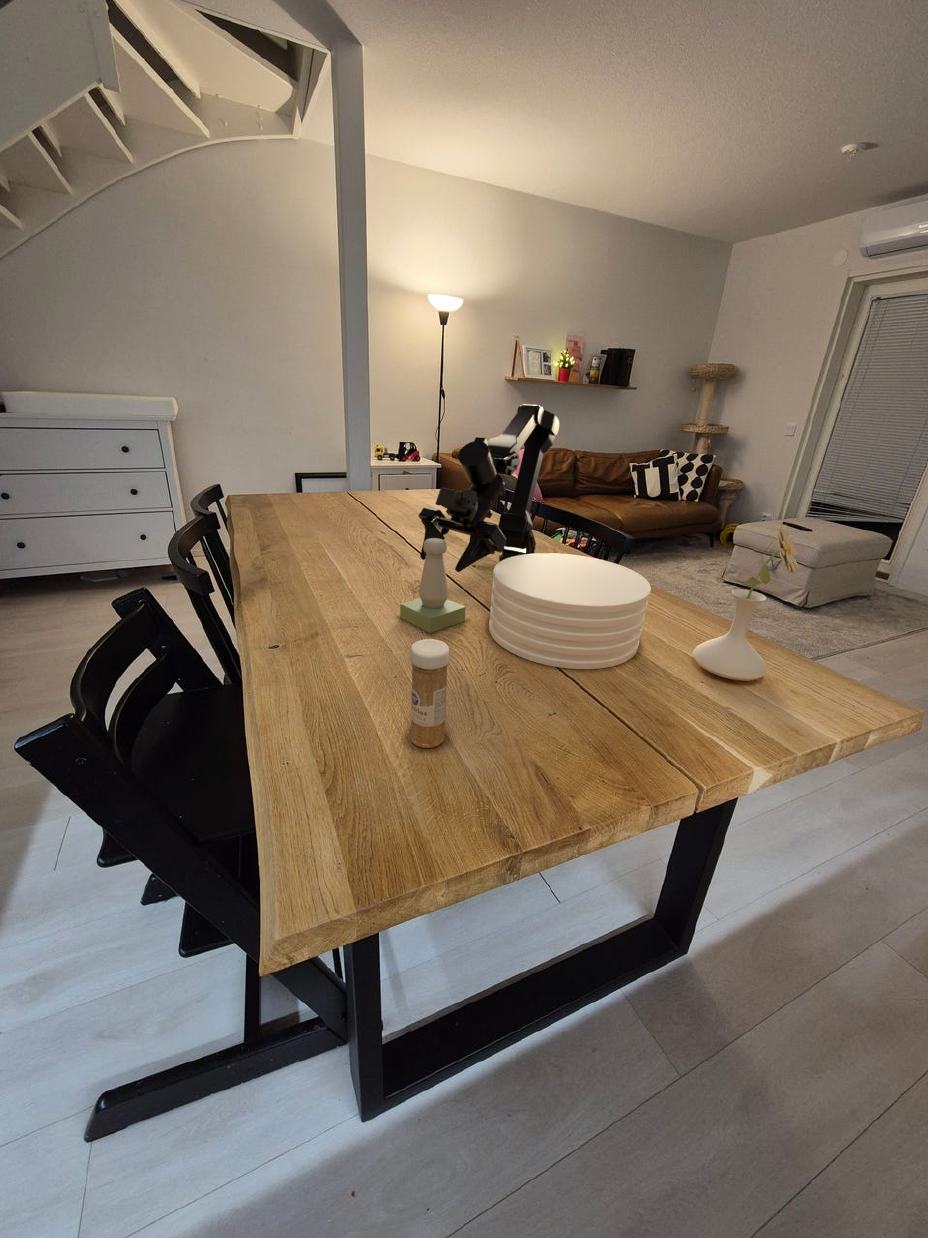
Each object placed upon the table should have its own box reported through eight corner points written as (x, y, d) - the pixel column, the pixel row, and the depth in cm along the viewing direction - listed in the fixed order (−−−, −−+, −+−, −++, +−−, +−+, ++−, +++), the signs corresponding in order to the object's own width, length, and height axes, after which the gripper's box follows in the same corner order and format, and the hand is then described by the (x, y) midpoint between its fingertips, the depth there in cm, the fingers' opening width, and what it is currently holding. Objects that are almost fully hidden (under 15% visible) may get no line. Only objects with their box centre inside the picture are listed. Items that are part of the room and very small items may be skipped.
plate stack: (646, 622, 102) (658, 568, 98) (625, 686, 79) (640, 620, 74) (517, 594, 113) (522, 545, 108) (464, 644, 89) (468, 583, 85)
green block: (434, 606, 104) (435, 593, 103) (464, 621, 98) (465, 606, 97) (400, 617, 98) (400, 603, 97) (430, 633, 93) (430, 618, 91)
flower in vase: (733, 693, 79) (784, 538, 68) (676, 660, 88) (712, 519, 77) (784, 677, 84) (837, 531, 74) (725, 647, 93) (765, 514, 83)
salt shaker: (450, 600, 100) (453, 536, 94) (446, 611, 94) (449, 545, 89) (421, 598, 100) (422, 534, 95) (415, 609, 95) (416, 542, 90)
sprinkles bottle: (402, 738, 64) (402, 645, 59) (427, 723, 68) (429, 634, 62) (428, 755, 62) (430, 659, 56) (452, 738, 65) (457, 646, 59)
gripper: (425, 464, 97) (382, 529, 94) (502, 478, 86) (455, 552, 83) (452, 500, 106) (413, 561, 103) (524, 517, 95) (483, 586, 92)
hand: (438, 564), depth 95 cm, fingers open, 9 cm apart
